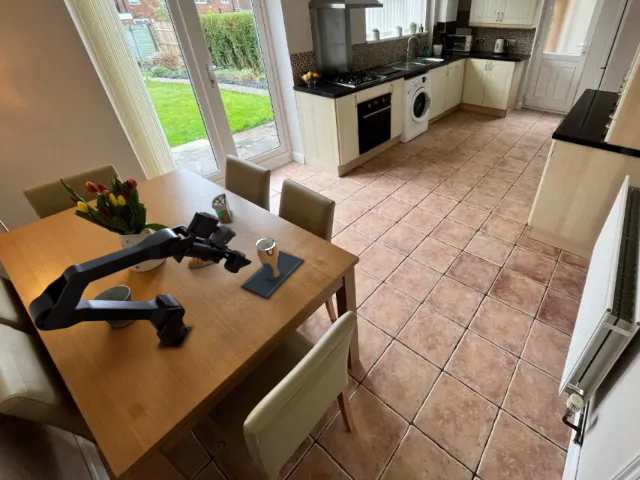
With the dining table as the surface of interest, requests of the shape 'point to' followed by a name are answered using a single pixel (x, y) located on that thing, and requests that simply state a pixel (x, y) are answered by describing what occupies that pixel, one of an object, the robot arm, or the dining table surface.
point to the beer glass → (269, 258)
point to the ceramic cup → (116, 295)
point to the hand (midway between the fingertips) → (242, 257)
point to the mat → (269, 286)
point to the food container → (222, 208)
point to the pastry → (197, 263)
